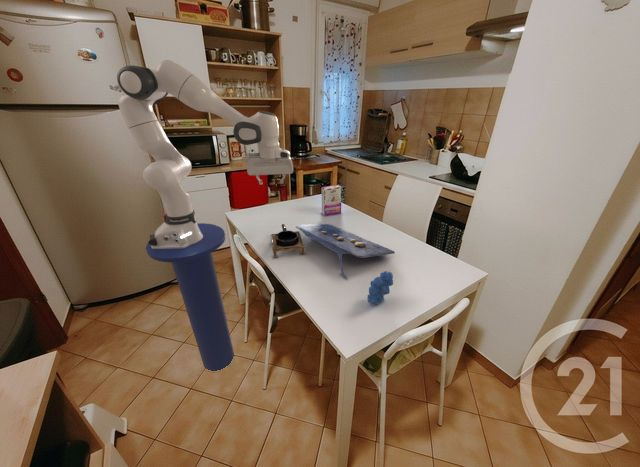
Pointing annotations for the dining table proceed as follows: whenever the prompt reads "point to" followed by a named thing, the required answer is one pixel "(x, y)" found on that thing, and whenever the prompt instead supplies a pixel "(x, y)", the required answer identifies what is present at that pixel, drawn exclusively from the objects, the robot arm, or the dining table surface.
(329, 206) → the candy bar box
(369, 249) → the blue piece
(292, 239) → the pan
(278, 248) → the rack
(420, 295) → the dining table surface
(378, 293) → the grapes
